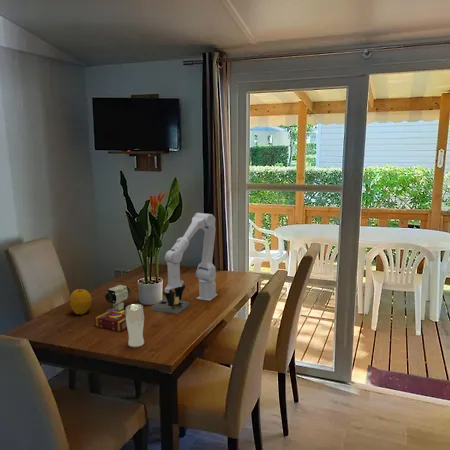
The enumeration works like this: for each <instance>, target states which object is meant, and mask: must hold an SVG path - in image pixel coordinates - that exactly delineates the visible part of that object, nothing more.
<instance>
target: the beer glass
mask: <svg viewBox="0 0 450 450" xmlns="http://www.w3.org/2000/svg"><path fill="white" fill-rule="evenodd" d="M125 311H126V325H127V329H126V330H127V333H128V340H127V341H128V346H129V347H130V348H139V347H142V346H143V345H144V344H145V339H144V335H143V333H144V324H145V312H144V305H143V304H140V303H131V304H129V305H127V306H126V307H125Z"/></svg>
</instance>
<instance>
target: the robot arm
mask: <svg viewBox="0 0 450 450" xmlns="http://www.w3.org/2000/svg"><path fill="white" fill-rule="evenodd" d="M200 229H202V230H203V232H204V235H203V244H202V256H201V262H200V263H198V264H197V268H196V270H195V277H196V279H198V280H197V281H198V289H199V293H198V294H199V296H197V297H196V298H195V299H197V300H201V301H212V300H213V299H215V298H216V297H217V296H218V294H217V283H216V278H217V271H216V268H217V267H216V266H215V265H214V264H213V257H214V250H215V238H216V232H217V231H216V230H217V229H216V217H215V216H214V215H213V214H212V213H203V212H196V213H194V215H193V217H192V218H191V223H190V224H189V226H188V228H187V229H186V231H185V233H184V234H183V236H182V237H179V238H177V239H176V242H175V244H173V246H172V247H171V249H169V250H167V251H166V253H165V256H164V261H165V262H166V265H167V285H166V287H165V288H164V291H163V292H162V293H163V294H164V296H165V298H166V299H167V301H168V305H169V306H173V303H174V295H178V296H179V300H182V298H183V293H184V291H185V288H186V285H184V280H183V279H181V271H180V270H181V267H180V266H181V263H180V262H182V260H183V255H184V253H185V251H186V250H187V249H188V246H190V240H191V238H193V237H194V235H195V234H196V233H197V231H199V230H200ZM173 290H174V291H173Z"/></svg>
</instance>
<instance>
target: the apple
mask: <svg viewBox="0 0 450 450" xmlns="http://www.w3.org/2000/svg"><path fill="white" fill-rule="evenodd" d="M92 301H93V299H92V295H91V294H90V292H89V291H88V290H86V289H83V288H78V289H75V290H73V291H72V292H71V294H70V296H69V305H70V308H71V310H72V311H73V312H74V314H76V315H79V314H80V315H84V314H86V313H88V310H89V309H90V307H91V305H92Z"/></svg>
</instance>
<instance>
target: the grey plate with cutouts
mask: <svg viewBox="0 0 450 450" xmlns="http://www.w3.org/2000/svg"><path fill="white" fill-rule="evenodd" d="M189 306H190V301H186V300H182V299H181V300H179V306H178V307H172V306H169V305H168V301H167V299H166V297H165V298H163V299H161V300H159V301H157V302H156V303H155V304H153V305H151V311H155V312H161V313H166V314H175V315H178V314H180V313H181V312H182V311H184V310H186V309H187V308H188V307H189Z"/></svg>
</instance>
